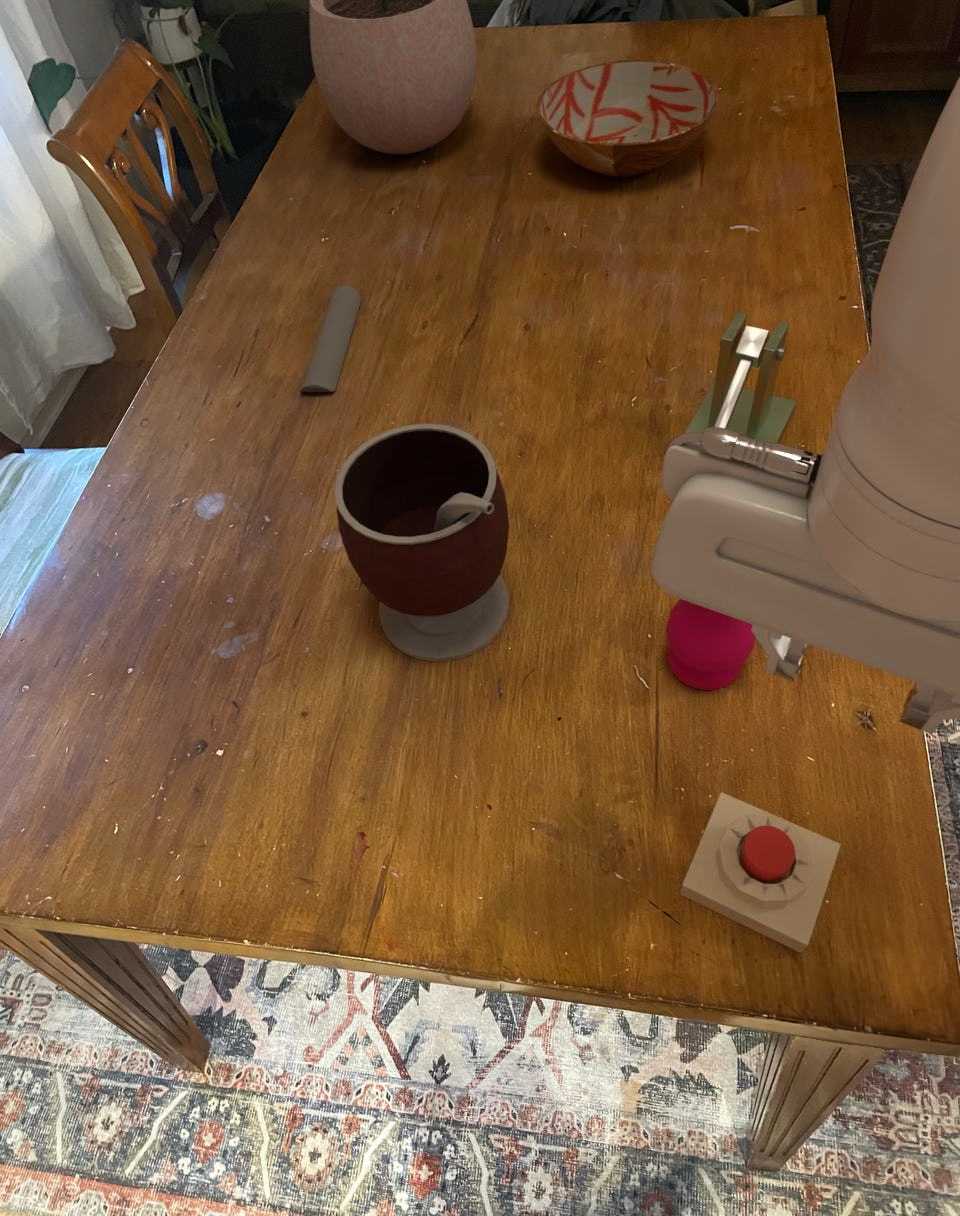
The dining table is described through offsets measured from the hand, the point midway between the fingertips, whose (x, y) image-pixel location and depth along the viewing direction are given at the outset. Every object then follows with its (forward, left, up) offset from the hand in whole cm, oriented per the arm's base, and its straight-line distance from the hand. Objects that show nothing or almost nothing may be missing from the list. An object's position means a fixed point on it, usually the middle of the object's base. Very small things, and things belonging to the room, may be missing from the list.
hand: (848, 690), depth 41 cm
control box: (0, 0, -27) cm, 27 cm away
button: (0, 0, -23) cm, 24 cm away
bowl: (+51, -93, -27) cm, 109 cm away
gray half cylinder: (+67, -40, -27) cm, 83 cm away
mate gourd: (+33, -11, -27) cm, 44 cm away
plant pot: (+85, -87, -27) cm, 125 cm away
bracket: (+17, -44, -27) cm, 54 cm away
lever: (+17, -40, -20) cm, 48 cm away
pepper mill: (+10, -16, -27) cm, 33 cm away
